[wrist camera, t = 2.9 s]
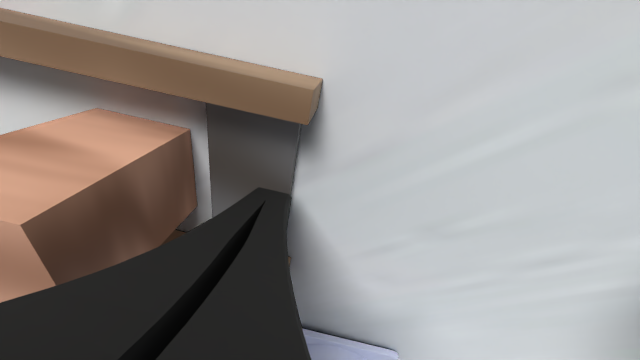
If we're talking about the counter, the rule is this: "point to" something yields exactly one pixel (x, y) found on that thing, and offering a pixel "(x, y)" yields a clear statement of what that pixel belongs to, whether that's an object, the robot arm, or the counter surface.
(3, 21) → the walnut channel
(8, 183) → the terracotta block
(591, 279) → the counter surface
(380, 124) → the counter surface
